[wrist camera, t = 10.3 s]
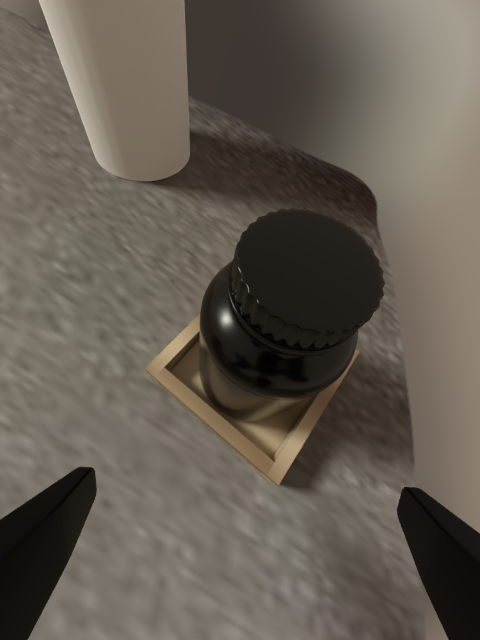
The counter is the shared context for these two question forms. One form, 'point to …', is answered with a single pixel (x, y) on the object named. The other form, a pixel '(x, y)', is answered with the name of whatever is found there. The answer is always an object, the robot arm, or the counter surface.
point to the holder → (242, 436)
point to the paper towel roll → (127, 80)
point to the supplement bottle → (285, 313)
